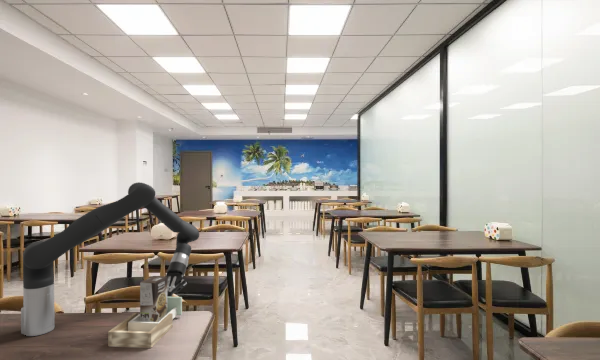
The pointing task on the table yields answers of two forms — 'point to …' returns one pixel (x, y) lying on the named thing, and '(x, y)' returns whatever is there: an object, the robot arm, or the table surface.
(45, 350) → the table surface
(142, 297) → the coffee box
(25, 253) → the robot arm
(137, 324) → the drawer
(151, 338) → the box
